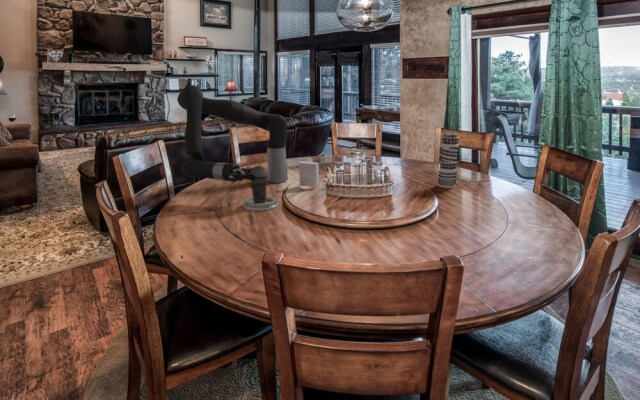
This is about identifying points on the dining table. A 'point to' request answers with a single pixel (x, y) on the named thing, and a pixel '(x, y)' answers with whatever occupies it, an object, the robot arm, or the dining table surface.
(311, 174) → the grey upright block
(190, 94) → the robot arm
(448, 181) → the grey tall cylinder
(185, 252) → the dining table surface
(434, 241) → the dining table surface
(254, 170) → the beverage cup
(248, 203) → the rimmed coaster
